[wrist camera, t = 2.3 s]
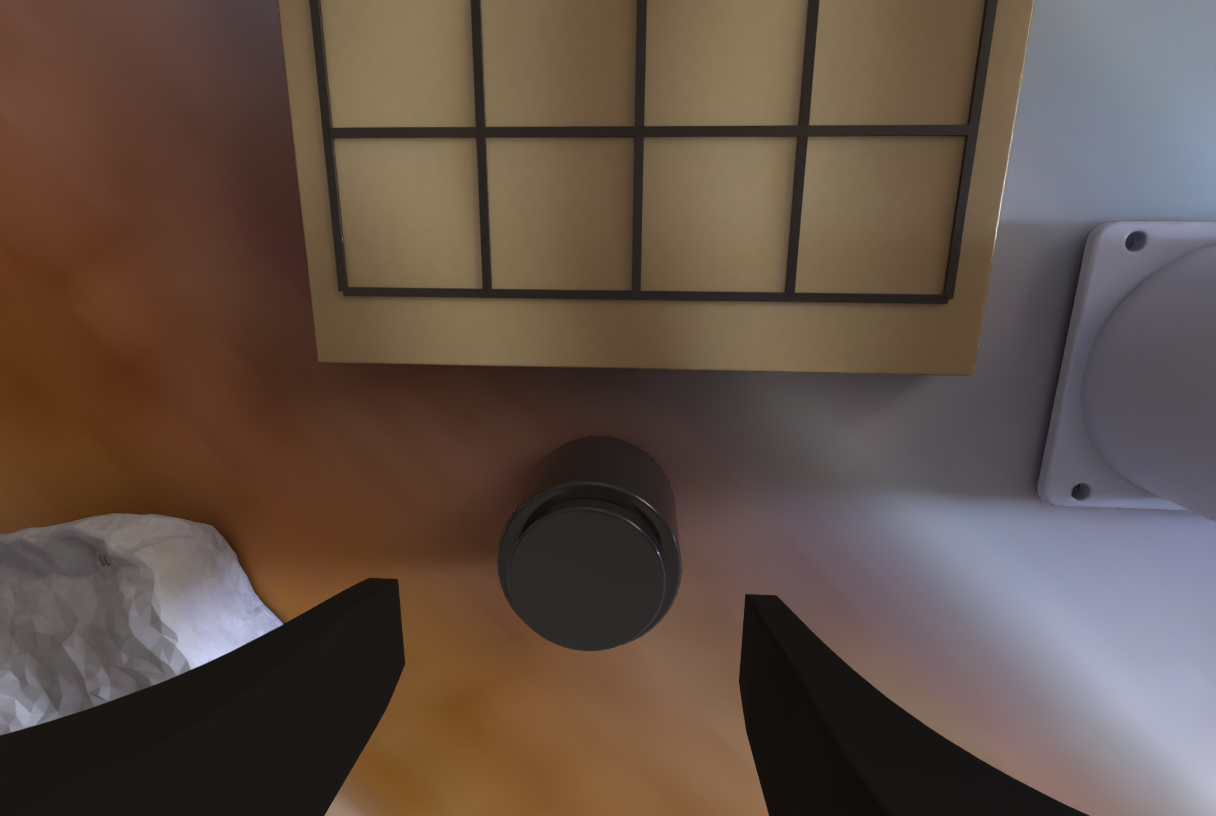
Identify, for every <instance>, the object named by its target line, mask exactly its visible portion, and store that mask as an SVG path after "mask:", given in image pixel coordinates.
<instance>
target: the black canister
mask: <svg viewBox="0 0 1216 816" xmlns="http://www.w3.org/2000/svg"><path fill="white" fill-rule="evenodd" d="M497 571H498V577H499V581H500V585H501V588H502V590H503V593H504V595H505V597H506V599H507V601H508V602H509V604H510V606H511V607H512V609H513V610H514V611H515V613H516V614H517V615H518V616H519V617H520V618H521V619H522V620H523V622H524V623H525V624H527V625H528V626H529V627H530V628H531V629H532V630H534V631H535V632H536V633H537V634H539V635H540V636H542V637H543V638H545V639H546V640H548V641H550V642H552V643H555V644H557V645H560V646H562V647H565V648H570V649H574V650H582V651H598V650H606V649H610V648H614V647H617V646H620V645H623V644H626V643H628V642H631V641H633V640H635V639H637V638H639V637H641V636H643V635H644V634H646V633H647V632H648V631H650V630H651V629H652V628H654V627H655V626H656V625H657V624H658V623H659V622H660V621H661V620H662V618H663V617H664V616H665V615H666V614H667V612H668V611H669V609H670V607H671V606H672V604H673V602H674V600H675V598H676V595H677V593H678V589H679V586H680V581H681V573H682V566H681V553H680V544H679V535H678V527H677V518H676V509H675V501H674V495H673V491H672V488H671V485H670V482H669V480H668V478H667V476H666V474H665V473H664V471H663V470H662V468H661V467H660V466H659V464H658V463H657V462H656V461H655V460H654V459H653V458H652V457H651V456H650V455H649V454H647V453H646V452H645V451H643V450H642V449H640V448H639V447H637V446H635V445H633V444H631V443H628V442H626V441H623V440H620V439H615V438H611V437H586V438H580V439H577V440H574V441H570V442H568V443H566V444H564V445H562V446H560V447H558V448H557V449H555V450H554V451H552V452H551V453H550V454H549V455H548V456H546V457H545V458H544V460H543V461H542V462H541V463H540V464H539V466H538V467H537V468H536V470H535V471H534V473H533V475H532V477H531V479H530V481H529V483H528V484H527V486H526V488H525V490H524V492H523V494H522V496H521V498H520V499H519V501H518V503H517V505H516V507H515V509H514V511H513V512H512V514H511V516H510V518H509V520H508V522H507V524H506V526H505V528H504V530H503V532H502V535H501V538H500V541H499V545H498V551H497Z"/></svg>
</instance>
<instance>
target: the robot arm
mask: <svg viewBox="0 0 1216 816" xmlns="http://www.w3.org/2000/svg"><path fill="white" fill-rule="evenodd" d="M1130 233H1132V234H1133V236H1134V244H1133V246H1132V247H1131V248H1130V249H1129V250H1128V249H1127V248H1126V247H1125V240H1126V238H1127V236H1128V235H1129V234H1130ZM1077 484H1081V488H1080V490H1079V491H1078V492H1077V493H1076V494H1073V495H1072V494H1071V491H1072V489H1073V487H1074V486H1076V485H1077ZM1037 492H1038V494H1039V496H1040V498H1042V499H1043V500H1045V501H1046V502H1048V503H1049V504H1051V505H1054V506H1059V507H1089V508H1119V509H1149V510H1179V511H1193V512H1195V513H1197V514H1199V515H1201V516H1203V517H1206V518H1208V519H1210V520H1212V521H1214V522H1216V222H1182V221H1115V222H1107V223H1102V224H1100V225H1098V226H1097V227H1095V228H1094V229H1093V230H1092V231H1091V232H1090V234H1089V235H1088V238H1087V240H1086V245H1085V250H1084V255H1083V260H1082V265H1081V270H1080V275H1079V280H1078V285H1077V290H1076V295H1075V300H1074V305H1073V310H1072V315H1071V320H1070V325H1069V330H1068V335H1067V340H1066V345H1065V350H1064V355H1063V360H1062V365H1061V370H1060V375H1059V380H1058V385H1057V390H1056V395H1055V400H1054V405H1053V410H1052V415H1051V420H1050V425H1049V430H1048V435H1047V440H1046V445H1045V450H1044V455H1043V460H1042V466H1041V471H1040V476H1039V481H1038V486H1037ZM404 666H405V657H404V645H403V633H402V622H401V610H400V598H399V587H398V579H381V578H369V579H366V580H364V581H362V582H360V583H358V584H356V585H354V586H352V587H350V588H348V589H346V590H344V591H342V592H340V593H339V594H337V595H335V596H333V597H331V598H330V599H328V600H326V601H324V602H323V603H321V604H319V605H317V606H315V607H314V608H312V609H310V610H308V611H306V612H305V613H303V614H301V615H299V616H297V617H296V618H294V619H292V620H290V621H289V622H287V623H285V624H283V625H281V626H279V627H277V628H276V629H274V630H272V631H270V632H268V633H266V634H264V635H262V636H260V637H258V638H256V639H254V640H252V641H250V642H248V643H246V644H244V645H243V646H241V647H239V648H237V649H235V650H233V651H231V652H229V653H227V654H225V655H223V656H220V657H218V658H216V659H214V660H212V661H210V662H207V663H205V664H203V665H201V666H199V667H196V668H194V669H192V670H189V671H187V672H185V673H182V674H180V675H178V676H175V677H173V678H171V679H168V680H166V681H163V682H161V683H158V684H156V685H153V686H150V687H147V688H145V689H142V690H139V691H137V692H134V693H131V694H128V695H126V696H123V697H120V698H117V699H115V700H112V701H109V702H106V703H104V704H101V705H98V706H96V707H93V708H90V709H87V710H84V711H81V712H77V713H74V714H71V715H68V716H65V717H62V718H58V719H55V720H52V721H49V722H45V723H42V724H38V725H35V726H32V727H28V728H25V729H21V730H18V731H14V732H11V733H7V734H3V735H0V816H324V815H325V813H326V812H327V810H328V808H329V807H330V805H331V803H332V802H333V800H334V798H335V796H336V795H337V793H338V791H339V790H340V788H341V786H342V785H343V783H344V781H345V779H346V778H347V776H348V774H349V773H350V771H351V769H352V768H353V766H354V764H355V763H356V761H357V759H358V757H359V756H360V754H361V752H362V751H363V749H364V747H365V746H366V744H367V742H368V740H369V739H370V737H371V735H372V733H373V732H374V730H375V728H376V726H377V725H378V723H379V721H380V719H381V718H382V716H383V714H384V712H385V711H386V708H387V706H388V704H389V702H390V699H391V697H392V695H393V693H394V690H395V688H396V685H397V683H398V680H399V678H400V675H401V673H402V671H403V668H404ZM739 685H740V692H741V699H742V706H743V713H744V719H745V726H746V731H747V735H748V739H749V743H750V747H751V750H752V754H753V758H754V762H755V765H756V769H757V773H758V776H759V780H760V784H761V787H762V791H763V795H764V798H765V802H766V806H767V809H768V813H769V816H1089V815H1087V814H1085V813H1082V812H1080V811H1078V810H1076V809H1073V808H1071V807H1069V806H1067V805H1065V804H1063V803H1061V802H1059V801H1057V800H1055V799H1053V798H1051V797H1049V796H1047V795H1045V794H1043V793H1041V792H1039V791H1037V790H1035V789H1033V788H1031V787H1029V786H1028V785H1026V784H1024V783H1022V782H1020V781H1018V780H1016V779H1014V778H1012V777H1010V776H1009V775H1007V774H1005V773H1003V772H1001V771H1000V770H998V769H996V768H994V767H992V766H991V765H989V764H987V763H985V762H984V761H982V760H980V759H979V758H977V757H975V756H974V755H972V754H970V753H969V752H967V751H965V750H964V749H962V748H961V747H959V746H957V745H956V744H954V743H952V742H951V741H949V740H947V739H946V738H944V737H943V736H941V735H940V734H938V733H937V732H935V731H934V730H932V729H931V728H929V727H927V726H926V725H925V724H923V723H922V722H920V721H919V720H918V719H916V718H915V717H913V716H912V715H911V714H909V713H908V712H906V711H905V710H904V709H902V708H901V707H899V706H898V705H897V704H895V703H894V702H892V701H891V700H890V699H889V698H887V697H886V696H885V695H883V694H882V693H881V692H880V691H878V690H877V689H876V688H875V687H873V686H872V685H871V684H870V683H869V682H867V681H866V680H865V679H864V678H863V677H861V676H860V675H859V674H858V673H857V672H855V671H854V670H853V669H852V668H851V667H850V666H849V665H847V664H846V663H845V662H844V661H843V660H842V659H841V658H840V657H838V656H837V655H836V654H835V653H834V652H833V651H832V650H831V649H830V648H829V647H828V646H827V645H826V644H825V643H823V642H822V641H821V640H820V639H819V638H818V637H817V636H816V635H815V634H814V633H813V632H812V631H811V630H810V629H809V628H808V627H807V626H806V625H805V624H804V623H803V622H802V621H801V620H800V619H799V618H798V617H797V616H796V615H795V614H794V613H793V612H792V611H791V610H790V609H789V608H788V607H787V606H786V605H785V604H784V603H783V602H782V601H781V600H780V599H779V598H778V597H777V596H776V595H754V594H746V595H745V608H744V621H743V635H742V648H741V661H740V675H739Z"/></svg>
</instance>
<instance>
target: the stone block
mask: <svg viewBox="0 0 1216 816" xmlns="http://www.w3.org/2000/svg"><path fill="white" fill-rule="evenodd" d="M281 625H283V623H282V622H281V621H280V620H279V619H278V618H277V617H276V616H275V615H274V614H273V613H272V612H271V611H270V610H269V609H268V608H267V607H266V606H265V605H264V604H263V603H262V602H261V600H260V599H259V598H258V596H257V595H256V593H255V592H254V591H253V589H252V586H251V584H250V582H249V580H248V577H247V575H246V574H245V572H244V571H243V569H242V568H241V566H240V564H239V563H238V558H237V554H236V553H235V552H234V551H233V549H232V548H231V547H230V546H229V544H228V543H227V541H226V540H225V538H224V537H223V536H222V535H221V534H220V533H219V532H218V531H217V530H216V529H215V528H214V527H213V526H212V525H208V524H205V523H196V522H193V521H190V520H186V519H180V518H175V517H170V516H164V515H159V514H146V515H138V514H121V513H110V514H106V515H99V516H91V517H87V518H83V519H79V520H75V521H72V522H67V523H62V524H57V525H52V526H46V527H31V528H25V529H21V530H19V531H16V532H14V533H8V534H0V735H3V734H7V733H11V732H14V731H18V730H21V729H25V728H28V727H32V726H35V725H38V724H42V723H45V722H49V721H52V720H55V719H58V718H62V717H65V716H68V715H71V714H74V713H77V712H81V711H84V710H87V709H90V708H93V707H96V706H98V705H101V704H104V703H106V702H109V701H112V700H115V699H117V698H120V697H123V696H126V695H128V694H131V693H134V692H137V691H139V690H142V689H145V688H147V687H150V686H153V685H156V684H158V683H161V682H163V681H166V680H168V679H171V678H173V677H175V676H178V675H180V674H182V673H185V672H187V671H189V670H192V669H194V668H196V667H199V666H201V665H203V664H205V663H207V662H210V661H212V660H214V659H216V658H218V657H220V656H223V655H225V654H227V653H229V652H231V651H233V650H235V649H237V648H239V647H241V646H243V645H244V644H246V643H248V642H250V641H252V640H254V639H256V638H258V637H260V636H262V635H264V634H266V633H268V632H270V631H272V630H274V629H276V628H277V627H279V626H281Z"/></svg>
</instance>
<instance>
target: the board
mask: <svg viewBox="0 0 1216 816" xmlns="http://www.w3.org/2000/svg"><path fill="white" fill-rule="evenodd" d="M1034 1H1035V0H278V8H279V17H280V26H281V34H282V43H283V52H284V61H285V70H286V79H287V88H288V97H289V106H290V115H291V124H292V133H293V141H294V150H295V159H296V168H297V177H298V186H299V195H300V204H301V213H302V222H303V231H304V240H305V248H306V257H307V266H308V275H309V284H310V293H311V302H312V311H313V320H314V329H315V338H316V347H317V355H318V361H319V362H326V363H375V364H424V365H473V366H522V367H571V368H620V369H669V370H718V371H767V372H816V373H864V374H913V375H962V376H971V375H973V374H974V369H975V363H976V357H977V350H978V344H979V338H980V332H981V326H982V320H983V314H984V308H985V301H986V295H987V289H988V283H989V277H990V271H991V265H992V258H993V252H994V246H995V240H996V234H997V228H998V222H999V216H1000V209H1001V203H1002V197H1003V191H1004V185H1005V179H1006V173H1007V166H1008V160H1009V154H1010V148H1011V142H1012V136H1013V130H1014V123H1015V117H1016V111H1017V105H1018V99H1019V93H1020V87H1021V81H1022V74H1023V68H1024V62H1025V56H1026V50H1027V44H1028V38H1029V31H1030V25H1031V19H1032V13H1033V7H1034Z"/></svg>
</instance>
